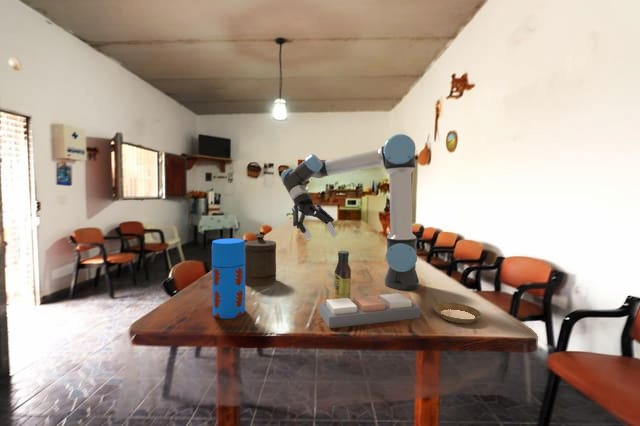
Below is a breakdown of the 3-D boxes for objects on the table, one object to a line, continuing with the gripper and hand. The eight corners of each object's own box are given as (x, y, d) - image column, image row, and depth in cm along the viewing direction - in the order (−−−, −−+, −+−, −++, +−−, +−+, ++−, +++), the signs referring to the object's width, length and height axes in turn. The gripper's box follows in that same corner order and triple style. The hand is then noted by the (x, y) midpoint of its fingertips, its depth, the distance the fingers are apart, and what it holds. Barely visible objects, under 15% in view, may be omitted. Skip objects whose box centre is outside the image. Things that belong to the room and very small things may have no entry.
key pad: (401, 304, 114) (401, 295, 114) (419, 318, 103) (420, 307, 103) (318, 313, 106) (319, 303, 106) (329, 328, 94) (329, 317, 94)
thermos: (227, 321, 98) (226, 244, 96) (205, 314, 104) (204, 241, 102) (251, 310, 107) (251, 240, 106) (230, 304, 113) (230, 237, 111)
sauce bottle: (332, 300, 119) (333, 249, 117) (348, 299, 119) (349, 249, 118) (335, 306, 112) (335, 253, 111) (351, 306, 113) (353, 253, 111)
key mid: (374, 302, 109) (374, 295, 109) (384, 310, 101) (385, 303, 101) (353, 304, 107) (353, 297, 107) (362, 313, 99) (362, 305, 99)
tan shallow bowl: (426, 309, 111) (426, 302, 111) (465, 308, 112) (465, 301, 112) (445, 327, 97) (446, 319, 96) (490, 326, 98) (490, 318, 98)
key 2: (399, 300, 112) (399, 293, 112) (411, 308, 104) (411, 301, 104) (379, 301, 110) (379, 295, 109) (390, 310, 102) (390, 303, 102)
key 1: (348, 304, 106) (348, 297, 106) (356, 313, 99) (357, 306, 99) (326, 306, 104) (326, 299, 104) (333, 316, 97) (333, 308, 96)
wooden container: (282, 279, 144) (282, 233, 143) (261, 288, 132) (261, 237, 130) (258, 275, 152) (258, 231, 150) (236, 282, 139) (236, 234, 138)
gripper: (319, 203, 143) (340, 240, 132) (273, 204, 126) (293, 245, 116) (326, 192, 138) (349, 229, 128) (280, 191, 122) (302, 233, 112)
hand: (323, 237), depth 122 cm, fingers open, 13 cm apart
